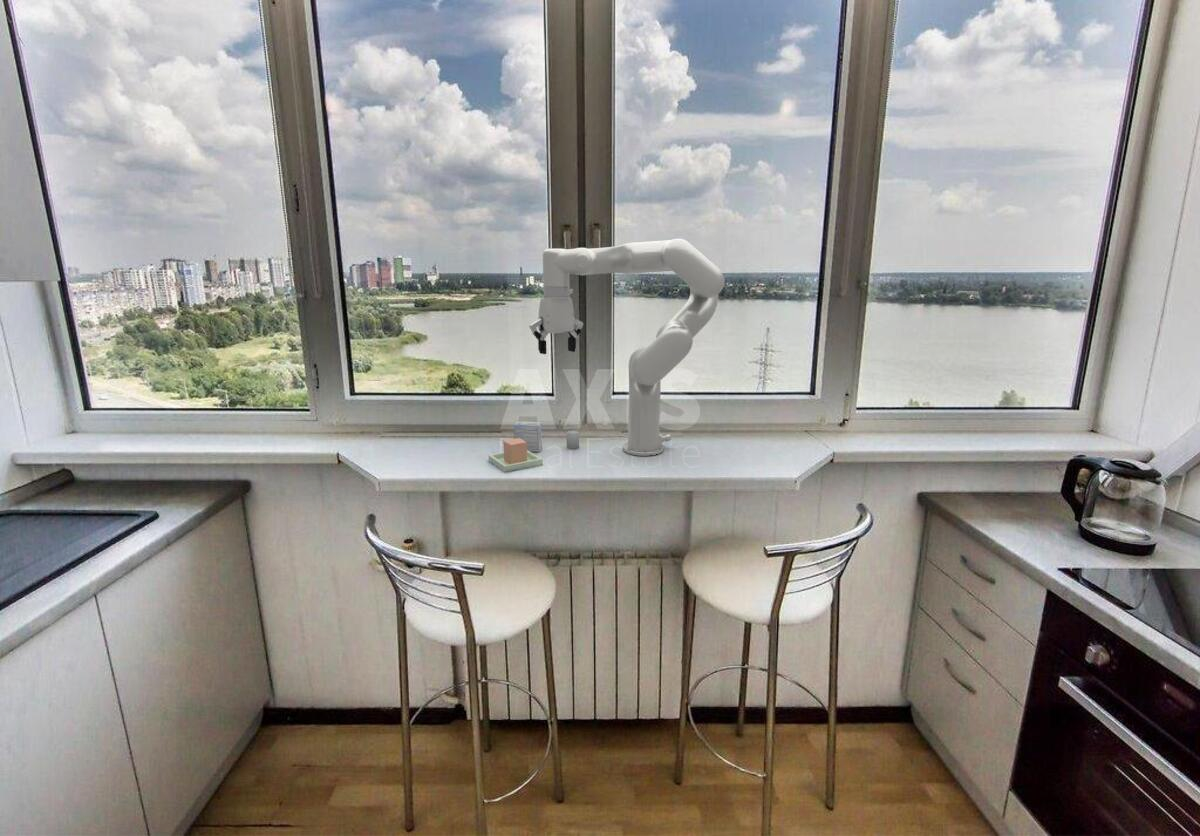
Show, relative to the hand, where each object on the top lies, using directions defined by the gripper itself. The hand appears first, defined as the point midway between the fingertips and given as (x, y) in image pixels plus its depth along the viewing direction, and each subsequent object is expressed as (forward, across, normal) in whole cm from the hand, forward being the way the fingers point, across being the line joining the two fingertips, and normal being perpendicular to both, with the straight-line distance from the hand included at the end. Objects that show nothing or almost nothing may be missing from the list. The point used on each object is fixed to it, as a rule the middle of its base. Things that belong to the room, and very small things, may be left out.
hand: (557, 352), depth 167 cm
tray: (+30, +16, +4) cm, 35 cm away
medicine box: (+31, +8, -5) cm, 32 cm away
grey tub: (+30, -5, 0) cm, 31 cm away
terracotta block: (+30, +16, +4) cm, 34 cm away
